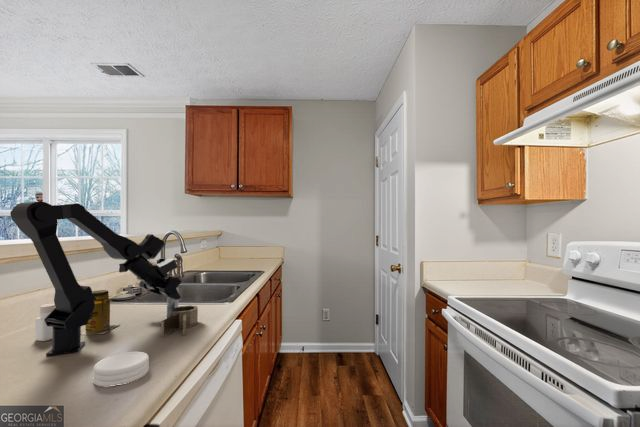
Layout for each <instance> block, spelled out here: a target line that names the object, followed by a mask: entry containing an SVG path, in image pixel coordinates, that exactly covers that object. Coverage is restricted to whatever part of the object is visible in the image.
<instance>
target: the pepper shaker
mask: <svg viewBox="0 0 640 427" xmlns="http://www.w3.org/2000/svg"><path fill="white" fill-rule="evenodd" d="M55 308H56V307H55V303H49V304H48V303H47V304H42V305H39V315H40V316H39V317H37V318H36V319H35V335H34V338H35V341H39V342H47V341H49V340H52V331H53V327H51V326H47V325H46V323H45V321H44V319H45V318H46V317H47V316H48V315H49V314H50V313H51V312H52V311H53V310H54V309H55Z"/></svg>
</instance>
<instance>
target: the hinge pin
mask: <svg viewBox="0 0 640 427" xmlns="http://www.w3.org/2000/svg"><path fill="white" fill-rule="evenodd" d="M176 289H177V291H178V293H179V287H177V288H176ZM179 294H180V293H179ZM176 307H179V300H178V299H175V298H171V297H168V296H166V319H167V318H169V317H171V316H172V309H173V308H176Z"/></svg>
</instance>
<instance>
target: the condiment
mask: <svg viewBox="0 0 640 427" xmlns="http://www.w3.org/2000/svg"><path fill="white" fill-rule="evenodd" d="M109 293H110V292H109V291H108V290H107V289H101V290H94V291H93V290H92V294H93V296H94V297H95V298H96V300H94V302H95V308H94V309H93V311H92V313H91V315H90V317H89V320H88V323H87V325H85V330H84V331H83V332H81V336H82V335H84V336H85V335H89V336H90V335H105V333H108V332H110V331H112V330H113V329H114V328H115V329H116V328H117V327H119V326H120V325H121V323H120V324H110V323H111V299H110V296H109Z"/></svg>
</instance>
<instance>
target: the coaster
mask: <svg viewBox="0 0 640 427" xmlns="http://www.w3.org/2000/svg"><path fill="white" fill-rule="evenodd" d="M149 360H150V356H149V354H147V353H146V352H143V351H138V350H137V351H125V352H120V353H115V354H112V355H109V356H106V357H104V358H103V359H101V360H99V361H98V362H97V363H95V365H94V366H93V376H92V377H93V379H92V382H93V384H94V385H95V384H96V385H99V386H110V385H117V384H124V383H128V382H131V381H134V382H136V381H138V380H139V378H140V379H142V378H144V377H145V376H146V374H148V372H149V369H150V367H149V365H150V361H149ZM141 377H142V378H141ZM137 379H138V380H137ZM135 380H136V381H135ZM131 383H132V382H131ZM128 384H129V383H128ZM96 385H95V386H96ZM99 386H98V387H99Z"/></svg>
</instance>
